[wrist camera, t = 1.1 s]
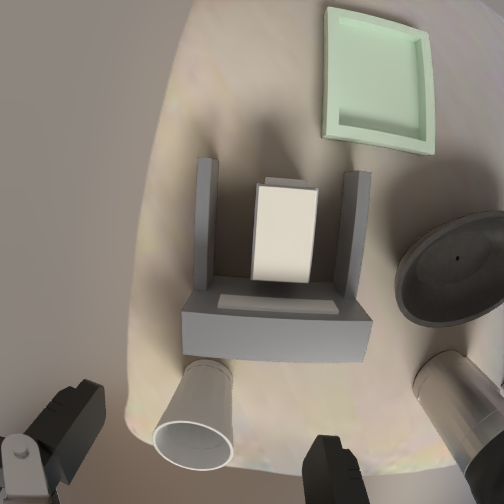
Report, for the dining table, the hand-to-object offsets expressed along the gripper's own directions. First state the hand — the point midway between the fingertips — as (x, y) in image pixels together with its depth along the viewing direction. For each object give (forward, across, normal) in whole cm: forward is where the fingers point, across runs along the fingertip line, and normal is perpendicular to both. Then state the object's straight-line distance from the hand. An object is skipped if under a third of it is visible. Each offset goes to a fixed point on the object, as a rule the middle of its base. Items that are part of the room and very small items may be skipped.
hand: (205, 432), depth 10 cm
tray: (+24, -10, -23) cm, 35 cm away
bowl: (+24, -25, -7) cm, 35 cm away
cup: (+24, +1, +16) cm, 29 cm away
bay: (+24, -3, -3) cm, 24 cm away
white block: (+24, -3, -5) cm, 25 cm away
